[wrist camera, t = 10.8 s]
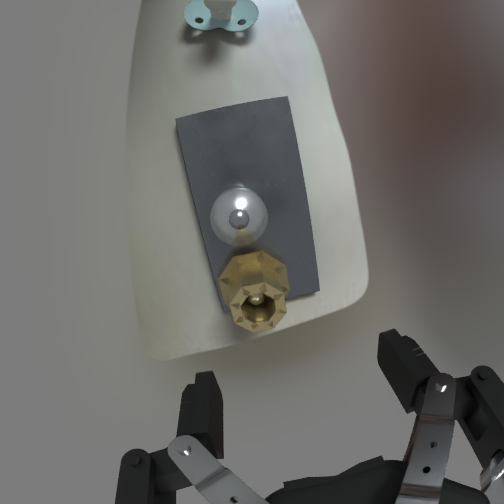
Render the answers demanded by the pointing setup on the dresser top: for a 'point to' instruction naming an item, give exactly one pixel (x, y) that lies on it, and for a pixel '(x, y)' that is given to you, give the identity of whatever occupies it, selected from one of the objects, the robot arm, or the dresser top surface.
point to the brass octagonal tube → (255, 288)
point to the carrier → (250, 188)
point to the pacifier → (221, 14)
